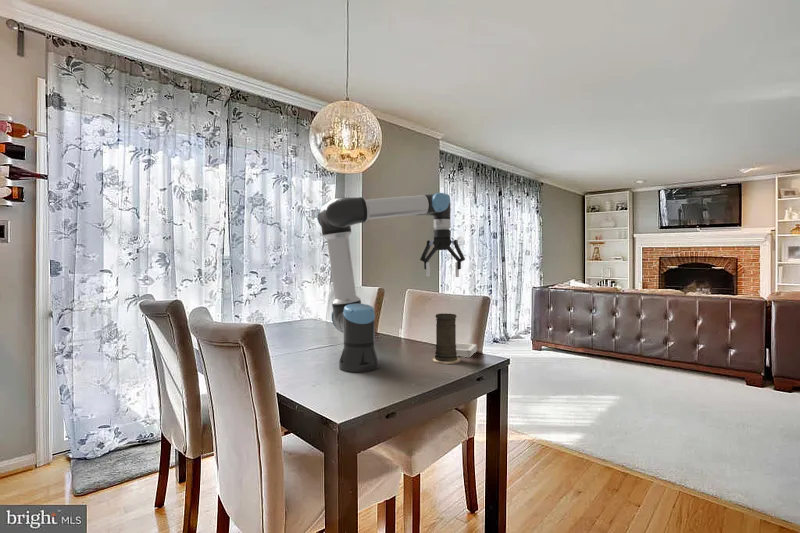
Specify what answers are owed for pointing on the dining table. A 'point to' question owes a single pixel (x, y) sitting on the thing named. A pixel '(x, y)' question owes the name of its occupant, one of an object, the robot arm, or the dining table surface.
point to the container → (446, 337)
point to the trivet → (446, 362)
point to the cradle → (465, 349)
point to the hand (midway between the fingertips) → (442, 276)
